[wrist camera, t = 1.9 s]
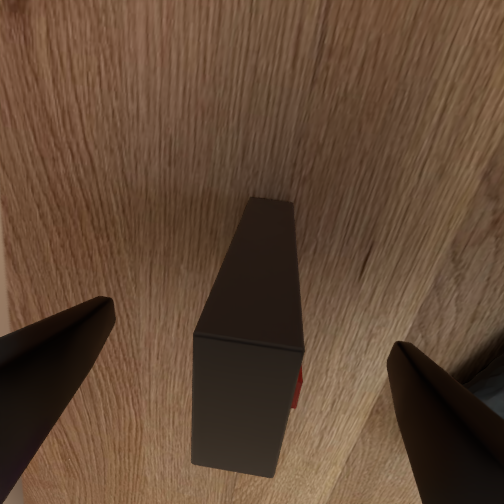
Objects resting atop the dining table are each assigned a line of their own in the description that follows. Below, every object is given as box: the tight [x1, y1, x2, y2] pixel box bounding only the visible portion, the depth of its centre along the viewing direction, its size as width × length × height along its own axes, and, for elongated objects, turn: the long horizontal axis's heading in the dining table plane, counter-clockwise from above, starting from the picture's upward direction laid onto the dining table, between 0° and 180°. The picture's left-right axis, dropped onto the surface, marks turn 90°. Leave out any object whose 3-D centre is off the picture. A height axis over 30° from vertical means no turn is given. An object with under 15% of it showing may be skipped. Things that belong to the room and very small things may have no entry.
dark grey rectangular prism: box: [191, 197, 305, 478], centre depth 11 cm, size 2×4×10 cm, turn 174°
